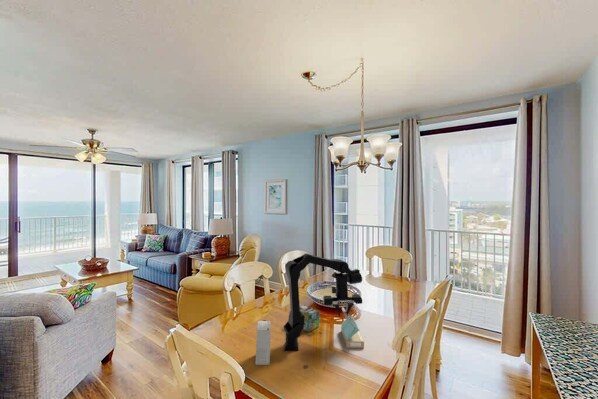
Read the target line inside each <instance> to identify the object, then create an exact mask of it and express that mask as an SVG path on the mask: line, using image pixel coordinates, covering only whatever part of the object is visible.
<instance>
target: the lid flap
mask: <svg viewBox="0 0 598 399" xmlns="http://www.w3.org/2000/svg"><path fill="white" fill-rule="evenodd" d="M341 310H342V313H343V316H344V318H345V320H344V321H343V322H342V323H341V324H340V326H342V328H343V331H344V333H345V336H346V339H347V340H348V339H349V338H351V337H352V336H353V335H354V334H355V333H357V332H358V331H359V332H360V329H359V327H358V325H357V323H356V321H355V318H354V315H350V314H349V313H348V316H347V313H346V308H345V307H343V306H342V307H341Z"/></svg>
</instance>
